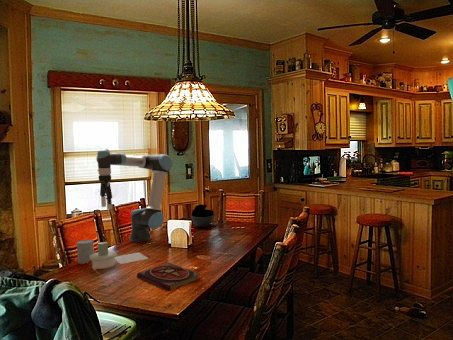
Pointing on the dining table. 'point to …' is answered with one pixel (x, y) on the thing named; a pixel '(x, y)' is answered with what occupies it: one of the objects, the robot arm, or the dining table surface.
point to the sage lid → (103, 253)
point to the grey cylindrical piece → (84, 251)
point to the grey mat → (130, 258)
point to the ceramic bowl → (103, 263)
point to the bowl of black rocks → (202, 216)
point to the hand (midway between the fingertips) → (106, 207)
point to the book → (168, 276)
